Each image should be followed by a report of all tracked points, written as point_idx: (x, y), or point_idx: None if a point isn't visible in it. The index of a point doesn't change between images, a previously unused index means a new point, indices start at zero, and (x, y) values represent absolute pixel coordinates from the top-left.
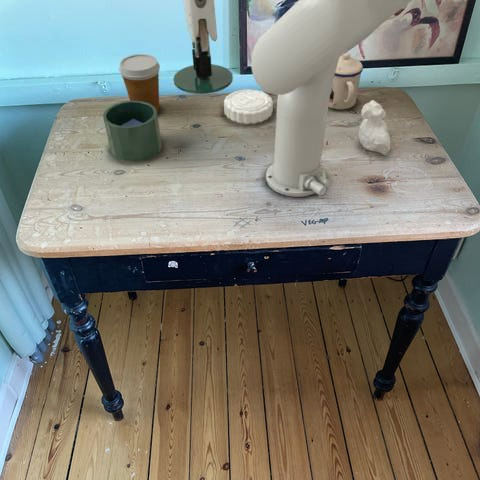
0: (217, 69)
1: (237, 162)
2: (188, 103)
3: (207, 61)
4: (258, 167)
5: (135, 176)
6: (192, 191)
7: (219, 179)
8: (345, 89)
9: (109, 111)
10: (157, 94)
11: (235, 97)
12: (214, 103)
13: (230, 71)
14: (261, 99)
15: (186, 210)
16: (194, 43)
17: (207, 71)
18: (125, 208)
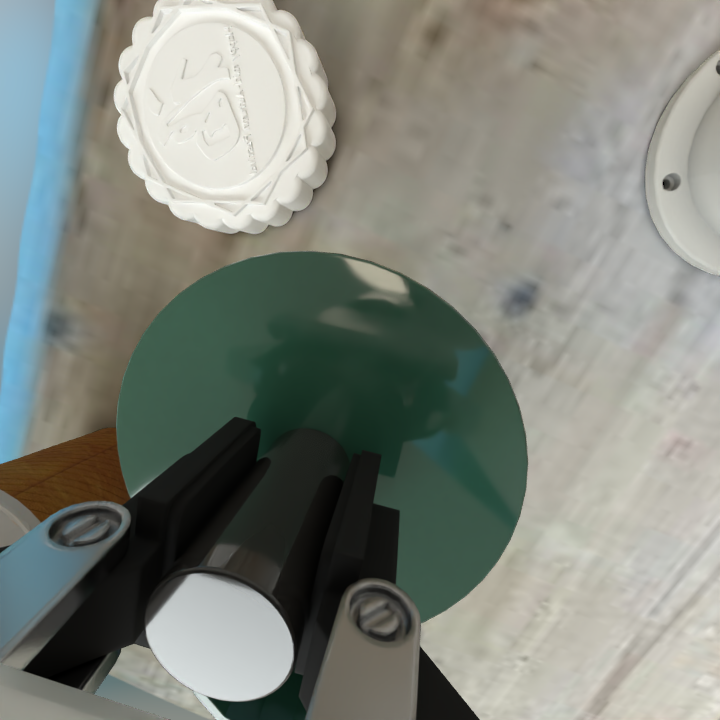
0: (238, 332)
1: (537, 318)
2: (105, 323)
3: (395, 578)
4: (608, 260)
5: (446, 610)
6: (606, 509)
7: (595, 413)
8: None
9: (227, 708)
10: (94, 465)
11: (177, 161)
12: (131, 233)
13: (309, 252)
14: (235, 43)
15: (683, 558)
16: (88, 683)
17: (397, 518)
18: (574, 678)
